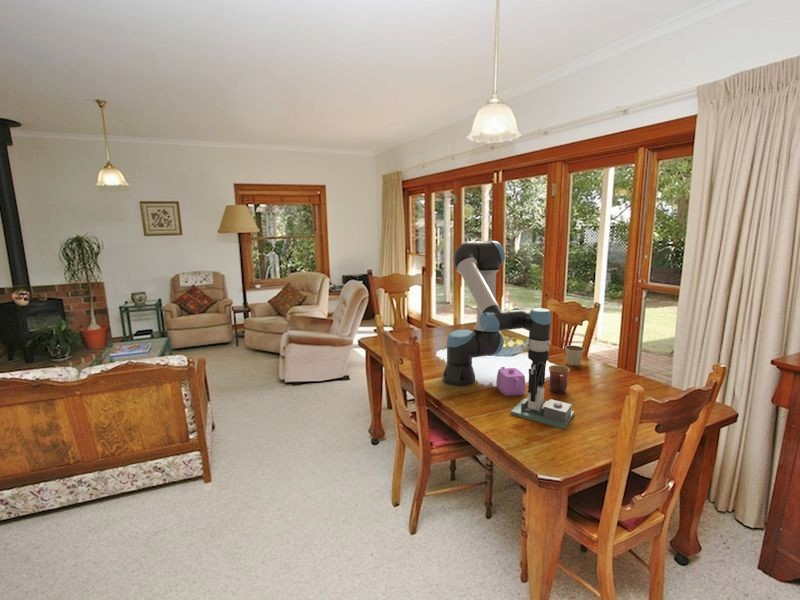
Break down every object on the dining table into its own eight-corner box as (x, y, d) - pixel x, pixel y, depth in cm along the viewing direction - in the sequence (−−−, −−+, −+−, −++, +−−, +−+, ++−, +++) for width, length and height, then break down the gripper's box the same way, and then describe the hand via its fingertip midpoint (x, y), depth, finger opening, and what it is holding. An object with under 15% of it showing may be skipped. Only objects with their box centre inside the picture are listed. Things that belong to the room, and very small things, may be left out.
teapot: (491, 382, 191) (492, 362, 189) (513, 381, 192) (514, 360, 190) (506, 399, 174) (507, 376, 171) (530, 398, 175) (531, 375, 173)
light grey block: (527, 407, 161) (528, 387, 159) (531, 403, 165) (532, 383, 163) (539, 410, 158) (540, 390, 157) (543, 405, 162) (544, 386, 160)
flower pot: (566, 359, 220) (567, 344, 219) (585, 363, 215) (586, 347, 213) (561, 364, 213) (562, 348, 211) (580, 368, 208) (582, 352, 206)
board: (510, 414, 161) (511, 400, 160) (523, 401, 172) (524, 388, 171) (563, 429, 149) (565, 414, 148) (574, 414, 160) (575, 400, 159)
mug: (545, 385, 187) (547, 364, 185) (566, 387, 185) (567, 365, 183) (549, 397, 175) (551, 374, 173) (571, 398, 174) (573, 375, 172)
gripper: (541, 357, 148) (537, 417, 152) (555, 345, 162) (552, 400, 166) (520, 353, 152) (517, 411, 157) (536, 341, 166) (533, 395, 171)
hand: (535, 405), depth 162 cm, fingers closed on light grey block, 5 cm apart
